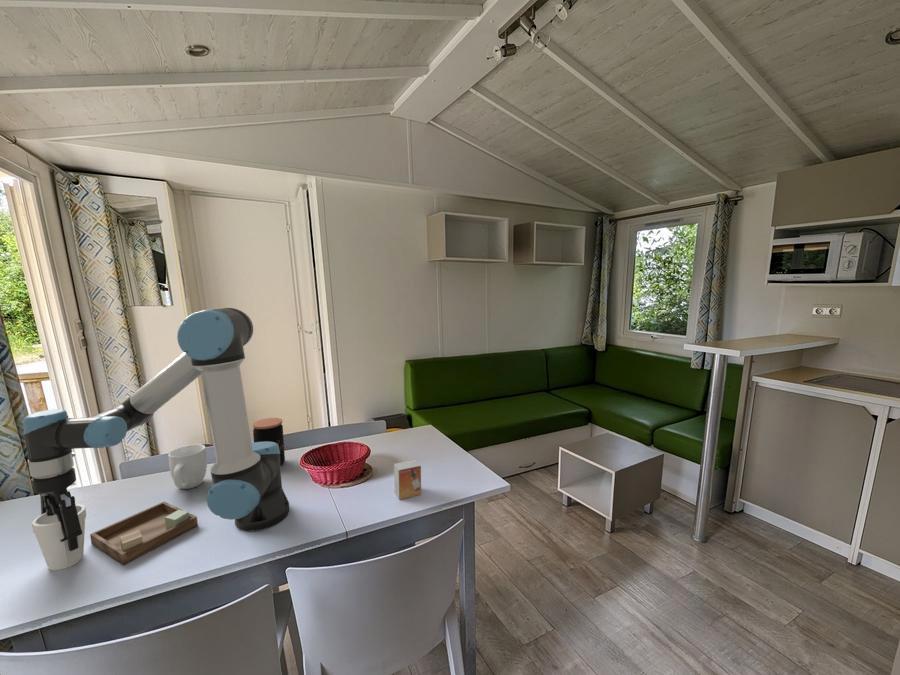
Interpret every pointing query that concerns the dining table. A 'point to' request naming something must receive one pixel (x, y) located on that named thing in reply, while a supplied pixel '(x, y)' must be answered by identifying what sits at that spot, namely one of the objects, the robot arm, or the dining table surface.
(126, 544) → the block
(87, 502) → the dining table surface
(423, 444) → the dining table surface
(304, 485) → the dining table surface
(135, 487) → the dining table surface
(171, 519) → the block
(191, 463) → the mug
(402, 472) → the small box
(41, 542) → the foam cup
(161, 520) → the tray
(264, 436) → the coffee jar
